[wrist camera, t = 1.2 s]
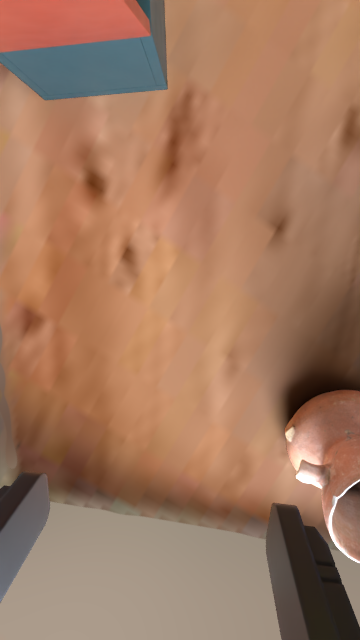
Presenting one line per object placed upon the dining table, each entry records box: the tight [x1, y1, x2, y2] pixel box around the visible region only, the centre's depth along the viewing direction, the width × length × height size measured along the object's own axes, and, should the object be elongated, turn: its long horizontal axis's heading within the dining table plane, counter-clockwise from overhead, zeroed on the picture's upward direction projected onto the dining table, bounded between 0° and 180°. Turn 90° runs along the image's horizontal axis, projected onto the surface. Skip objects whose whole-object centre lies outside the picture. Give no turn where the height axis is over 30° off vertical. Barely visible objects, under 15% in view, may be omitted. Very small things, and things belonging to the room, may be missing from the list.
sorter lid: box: [0, 0, 151, 53], centre depth 17 cm, size 15×14×1 cm
